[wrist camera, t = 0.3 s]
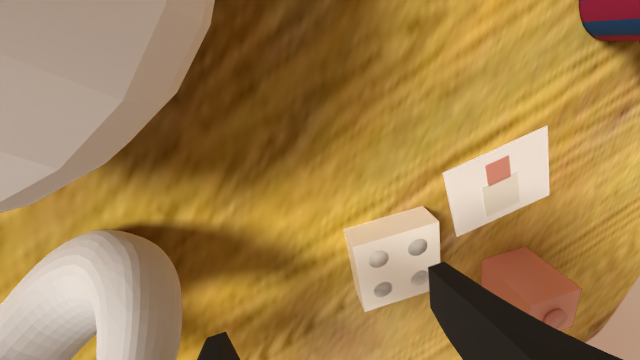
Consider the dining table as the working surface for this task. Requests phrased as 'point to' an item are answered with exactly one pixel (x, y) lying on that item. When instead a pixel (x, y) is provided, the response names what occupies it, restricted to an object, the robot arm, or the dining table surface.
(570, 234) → the dining table surface
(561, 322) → the red brick
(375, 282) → the base brick
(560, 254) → the dining table surface
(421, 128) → the dining table surface
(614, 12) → the mug
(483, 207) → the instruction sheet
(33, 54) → the vase
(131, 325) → the toy
